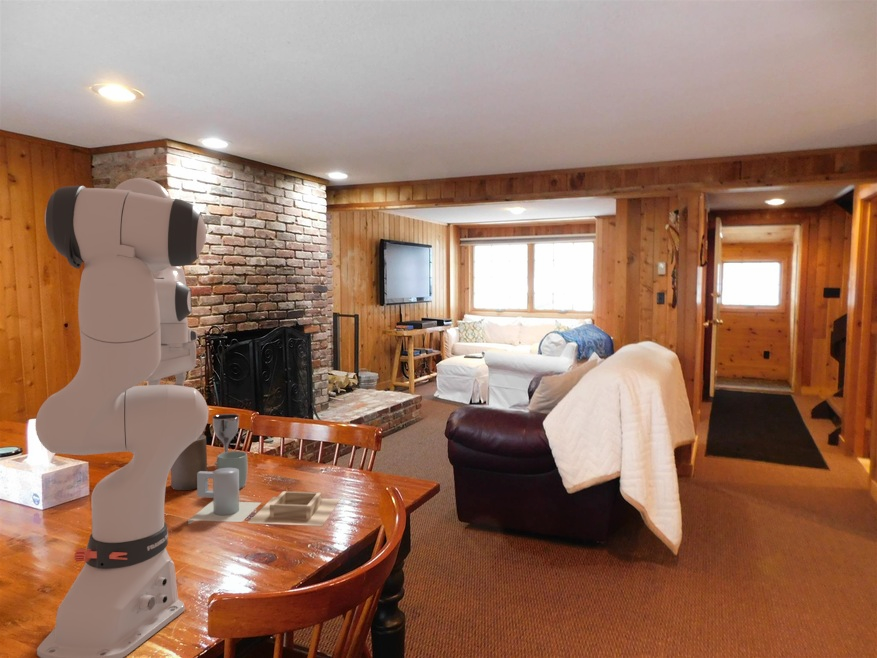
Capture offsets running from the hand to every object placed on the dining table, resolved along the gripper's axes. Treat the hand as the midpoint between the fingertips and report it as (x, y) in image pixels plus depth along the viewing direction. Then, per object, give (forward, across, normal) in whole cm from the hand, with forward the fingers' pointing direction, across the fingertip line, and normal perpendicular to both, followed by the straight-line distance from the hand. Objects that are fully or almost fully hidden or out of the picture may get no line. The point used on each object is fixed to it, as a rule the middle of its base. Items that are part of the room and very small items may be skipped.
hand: (168, 394), depth 138 cm
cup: (+31, +26, -4) cm, 41 cm away
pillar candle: (+31, +29, +10) cm, 44 cm away
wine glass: (+31, +52, +9) cm, 61 cm away
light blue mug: (+30, +8, -8) cm, 32 cm away
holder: (+31, +10, -27) cm, 42 cm away
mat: (+31, +8, -10) cm, 34 cm away
